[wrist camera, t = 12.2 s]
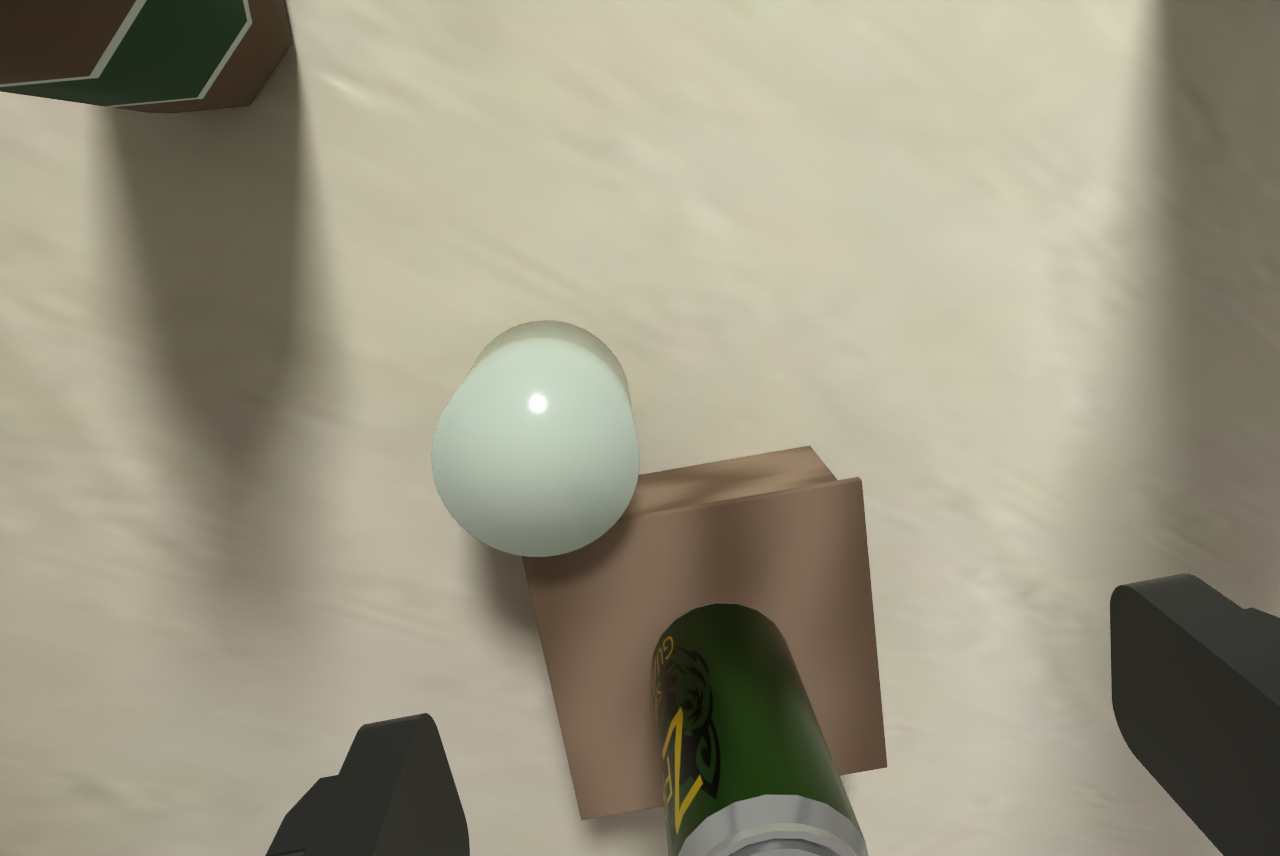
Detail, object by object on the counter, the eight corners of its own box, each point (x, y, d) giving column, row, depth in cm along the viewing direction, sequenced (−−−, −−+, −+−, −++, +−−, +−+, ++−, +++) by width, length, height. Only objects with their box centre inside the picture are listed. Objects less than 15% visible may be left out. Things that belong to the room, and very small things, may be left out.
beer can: (782, 586, 32) (881, 810, 21) (789, 705, 34) (884, 977, 22) (643, 601, 32) (665, 835, 21) (657, 720, 34) (684, 1000, 22)
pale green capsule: (614, 307, 35) (620, 344, 27) (641, 463, 37) (654, 538, 29) (449, 336, 35) (409, 381, 27) (485, 490, 37) (457, 572, 29)
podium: (820, 433, 37) (861, 480, 31) (845, 683, 41) (887, 767, 35) (530, 483, 37) (518, 539, 31) (582, 729, 41) (581, 820, 35)
